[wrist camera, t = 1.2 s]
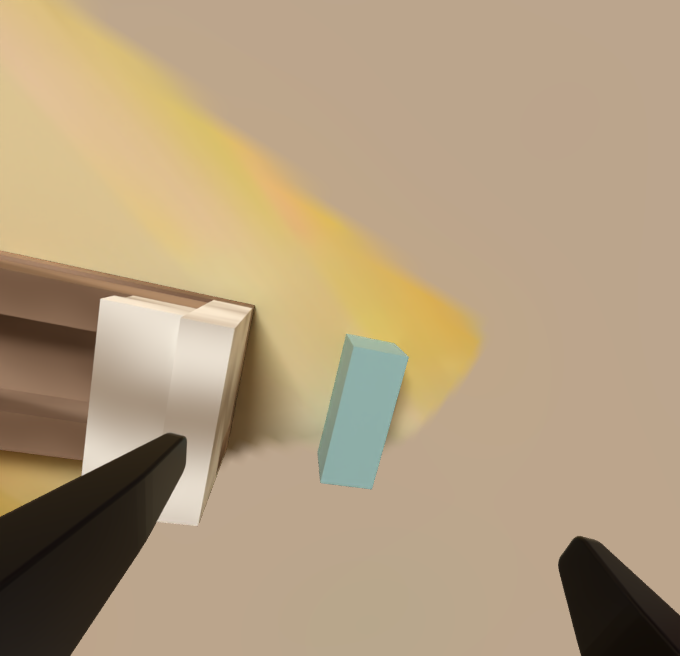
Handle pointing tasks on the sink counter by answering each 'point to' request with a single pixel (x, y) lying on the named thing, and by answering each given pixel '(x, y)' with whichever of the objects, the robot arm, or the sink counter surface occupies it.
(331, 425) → the teal rectangular block
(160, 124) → the sink counter surface
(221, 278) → the sink counter surface
